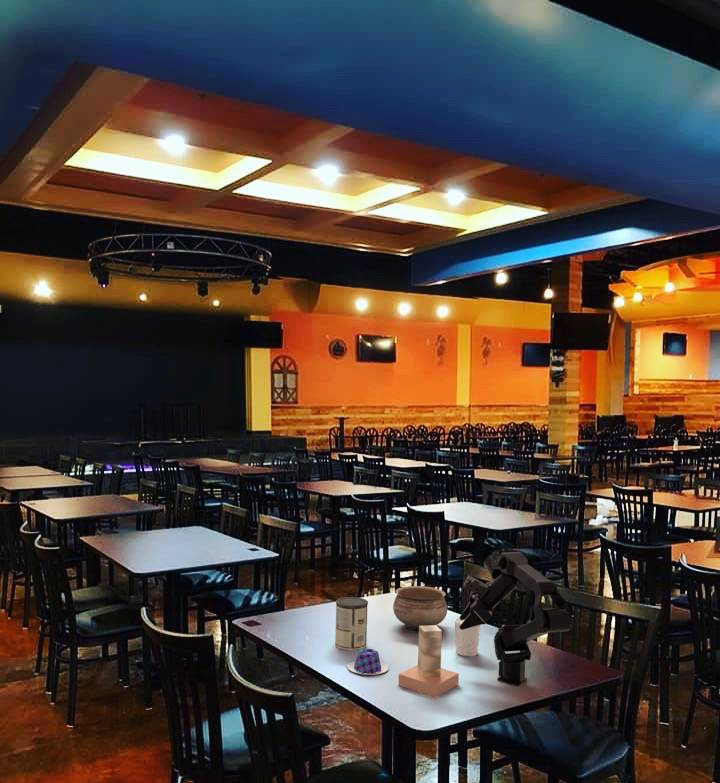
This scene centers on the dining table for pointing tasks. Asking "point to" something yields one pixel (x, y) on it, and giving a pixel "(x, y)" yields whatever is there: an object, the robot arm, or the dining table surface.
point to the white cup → (466, 639)
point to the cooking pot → (420, 606)
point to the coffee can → (351, 623)
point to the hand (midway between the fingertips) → (460, 623)
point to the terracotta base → (428, 681)
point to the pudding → (367, 663)
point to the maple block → (429, 651)
